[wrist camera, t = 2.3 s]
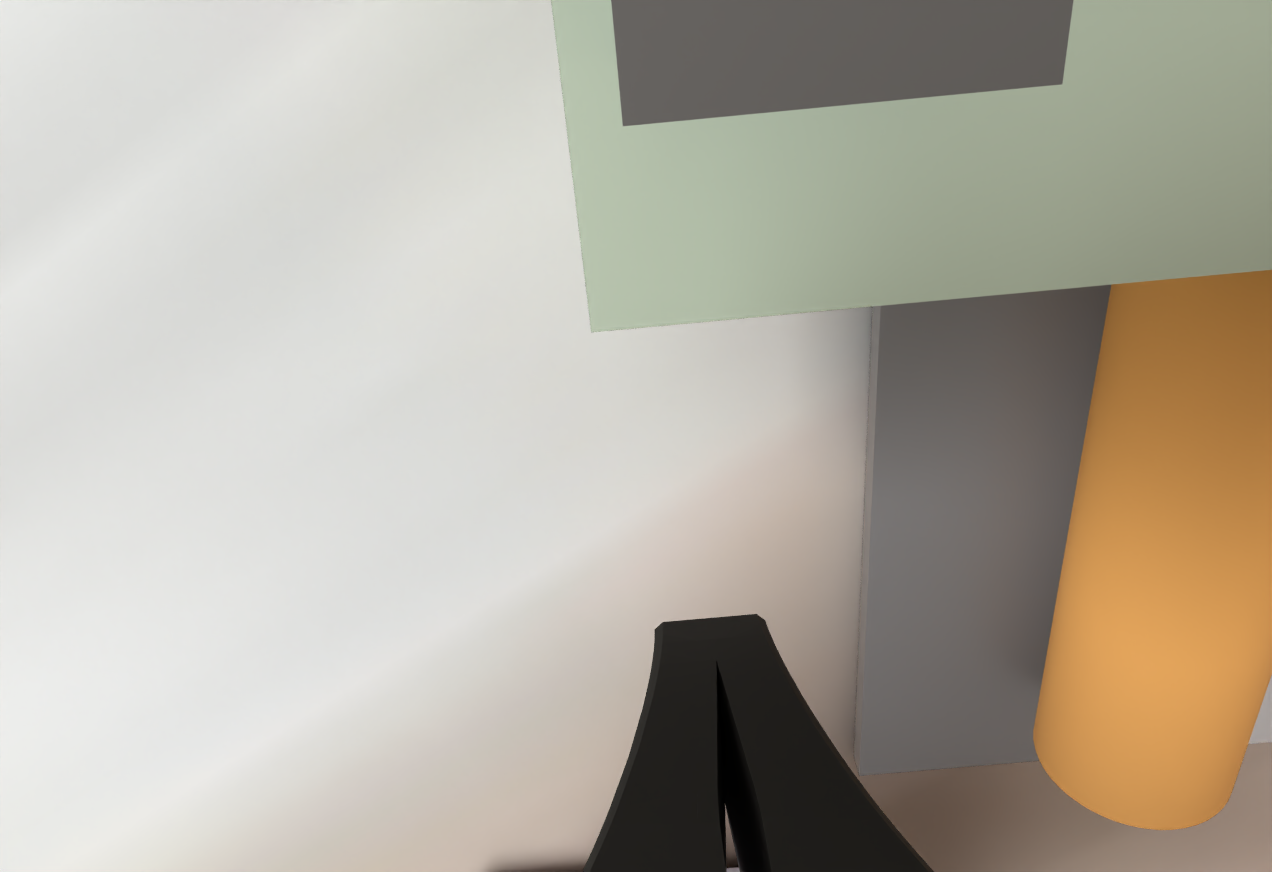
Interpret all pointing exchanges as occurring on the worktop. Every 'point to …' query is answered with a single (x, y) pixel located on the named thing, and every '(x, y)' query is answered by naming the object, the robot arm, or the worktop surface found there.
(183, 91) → the worktop surface
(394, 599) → the worktop surface
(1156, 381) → the cylinder
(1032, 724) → the large grey box
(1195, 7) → the cover
